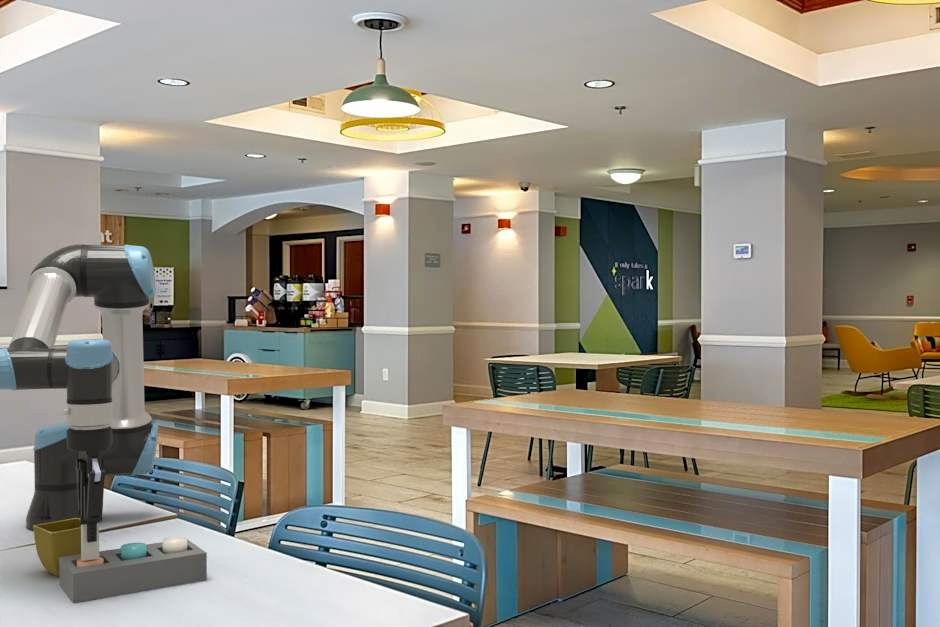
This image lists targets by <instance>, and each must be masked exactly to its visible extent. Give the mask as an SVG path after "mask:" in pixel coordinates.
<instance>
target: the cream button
mask: <svg viewBox="0 0 940 627" xmlns="http://www.w3.org/2000/svg"><path fill="white" fill-rule="evenodd" d="M187 539H188V538H187V537H186V536H170V537H169V536H168V537H167V538H164V539H162V542H163V554H169V553H175V552H182V551H187Z"/></svg>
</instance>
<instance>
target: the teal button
mask: <svg viewBox="0 0 940 627" xmlns="http://www.w3.org/2000/svg"><path fill="white" fill-rule="evenodd" d="M146 545H147V543H146V542H129V543H125V544H122V545H121V546H120V548H121V561H124V560H130V559H137V558H143V557H146Z"/></svg>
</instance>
